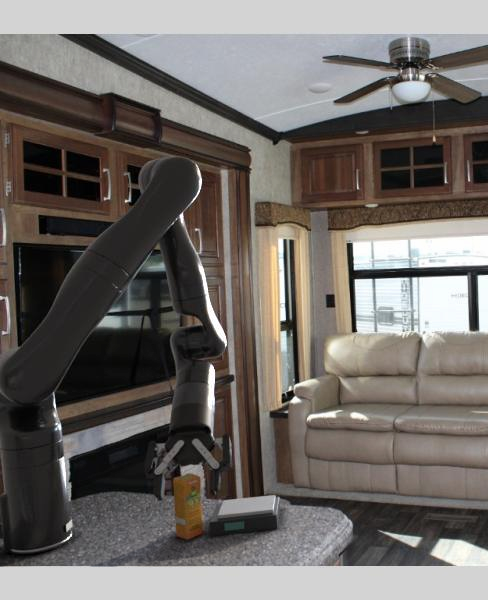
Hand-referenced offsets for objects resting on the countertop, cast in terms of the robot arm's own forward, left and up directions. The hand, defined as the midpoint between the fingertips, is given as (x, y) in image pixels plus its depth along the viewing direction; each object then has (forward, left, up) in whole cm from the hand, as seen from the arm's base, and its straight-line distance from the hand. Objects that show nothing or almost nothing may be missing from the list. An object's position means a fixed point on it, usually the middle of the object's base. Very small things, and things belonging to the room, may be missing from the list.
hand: (186, 495), depth 111 cm
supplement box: (0, +1, -7) cm, 7 cm away
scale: (+9, +4, -7) cm, 12 cm away
